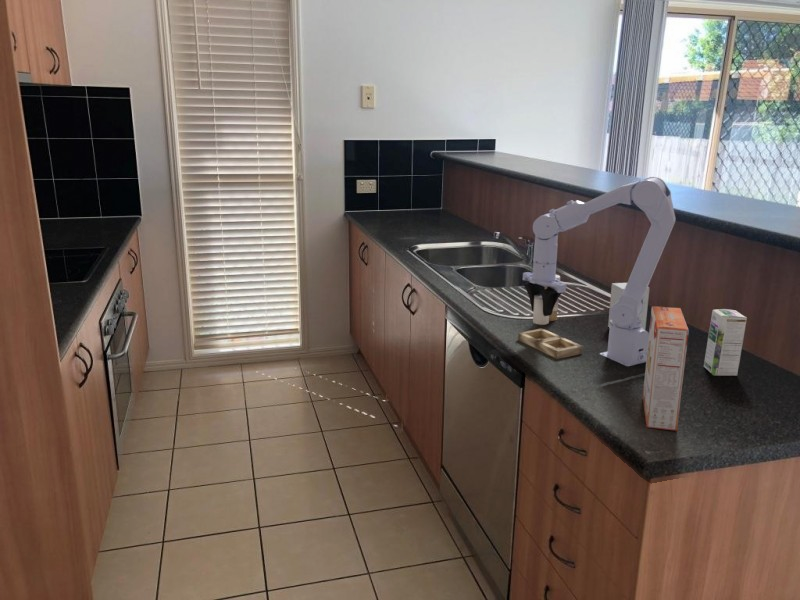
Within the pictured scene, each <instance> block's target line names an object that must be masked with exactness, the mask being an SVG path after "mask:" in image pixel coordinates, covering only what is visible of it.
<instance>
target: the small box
mask: <svg viewBox="0 0 800 600" xmlns="http://www.w3.org/2000/svg"><path fill="white" fill-rule="evenodd" d="M626 285H627V282H615V283H613V282H612V283H611V288H610V289H611V290H610V302H609V313H608V324H607V328H608V327H609V328H608V329H610V320H611V317H610V310H611V308H612V307H613V305H615V304H616V303H617V301H618V299H619V298H620V297H621V295H622V293H623V291H624V289H625V287H626ZM649 294H650V286H648V287H647V289H646V293H645V296H644V298H643V304H644V308H643V311H642V313H641V314H640V315H639V316H638V317H639V319H640V321H641V323H642V324H641V326H642V328H643V329H644V330H645V331H646V327H647V317H648V316H647V315H648V307H649V306H648V305H649V297H650V295H649Z"/></svg>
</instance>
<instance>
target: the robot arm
mask: <svg viewBox="0 0 800 600" xmlns="http://www.w3.org/2000/svg"><path fill="white" fill-rule="evenodd" d="M618 204H624V205H628V206H631V205H633V204H634V205H636V207H638V208H639V209H640V211H642V212H643V213H645V215H646V217H647V219H648V221H649V222H650V227H649V229H648V232H647V233H646V236H645V239H644V241H643V244H642V246H641V249H640V251H639V253H638V255H637V259H636V260H635V263H634V266H633V268H632V271H631V273H630V276H629V277H628V280H627V282H626V283H627V285H626V287H625V289H624V291H623V293H622V295H621V297H620V298H619V299H618V301H617V303H616V304H615V305H613V307H612V308H611V310H610V309H609V310H610V317H611V320H610V328H609V331H608V332H609V333H608V342H607V351H604V352H600V353H599V355H600V356H603V357H606V358H608V359H610V360H612V361H615V362H617V363H619V364H621V365H623V366H625V367H630V366H631V367H632V366H635V365H639V364H644V363H646V360H647V350H648V340H649V331H647V330H646V329H645V330H644V329H643V328H642V326H641V324H642V323H641V321H640V319H639V317H638V316H639V315H640V314H641V313H642V311H643V308H644V304H643V298H644V296H645V293H646V289H647V287H649V285H650V282H651V280H652V277H653V275H654V273H655V270H656V268H657V265H658V263H659V261H660V259H661V256H662V255H663V251H664V249H665V247H666V245H667V243H668V240H669V237H670V235H671V233H672V230H673V228H674V226H675V223H676V220H677V219H676V214H675V209H674V205H673V200H672V191H671V190H670V188H669V187H668V184H666V182H665V181H664V180H663V179H662V178H660V177H658V176H649V177H647V178H644V179H643V180H642V181H641V180H637V181H634V182H630V183H627V184H624V185H621V186H618V187H616V188H615V189H611V190H610V191H608V192H606V193H603V194H601V195H599V196H597V197H595V198H593V199H590V200H588V201H587V202H584V201H581V200H577V199H576V200H575V201H574V200H573V199H572V200H569V201H567V202H566V205H563V206H561V207H558V208H557V209H554V208H551V209H550V210H549V211H548V212H549V213H545V214H542V215H540V216H539V217H537V218H536V219H534V221H533V223H532V231H533V234H534V246H533V248H534V249H533V262H532V272H529V271H527V272H526V271H525V272H522V281H528V283H525V284H524V289H525V291H526V293H527V294H528V298H529V301H530V307H531V311H532V312H534V295H536V294H541V295H542V300H543V315H544V316H550V315H551V314H552V311H553V308H554V306H555V303H556V301H557V299H558V300H559V297H560V296H561V295H562V293H566V291H567V290H566V289H567V284H565V283H563V282H561V280H560V281H559V280H557V279H556V278H555V276H556V275H557V271H556V270H557V259H558V247H559V245H558V242H559V241H558V239H559V233H560V232H561V233H563V232H565V231H568V230H571V229H573V228H575V227H578V226H581V225H583V224H586V223H587V222H588V220H589V217H590V215H592V214H595V213H597V212H600V211H602V210H605V209H608V208H610V207H613V206H615V205H618ZM545 287H547V289H545Z"/></svg>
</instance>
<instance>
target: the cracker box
mask: <svg viewBox="0 0 800 600" xmlns="http://www.w3.org/2000/svg"><path fill="white" fill-rule="evenodd" d="M650 310H651V311H650V319H649V320H650V321H649V331H648V333H649V340H648V350H647V360H646V362H645V372H644V382H643V391H642V392H643V393H642V400H643V409H644V417H645V418H644V419H645V425H646V428H649V429H656V430H657V429H658V430H666V431H673V432H674V431H677V430H678V424H679V415H680V406H681V405H680V404H681V397H682V388H683V381H684V372H685V364H686V357H687V356H686V355H687V350H688V349H687V348H688V342H689V333H690V331H689V327H688V325H687V322H686V320H685V316H684V313H683V310H682V308H681V307H670V306H669V307H667V306H655V305H654V306H651V309H650Z"/></svg>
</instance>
